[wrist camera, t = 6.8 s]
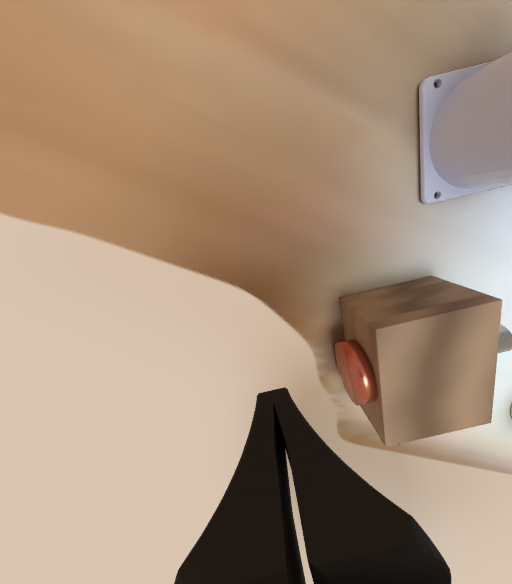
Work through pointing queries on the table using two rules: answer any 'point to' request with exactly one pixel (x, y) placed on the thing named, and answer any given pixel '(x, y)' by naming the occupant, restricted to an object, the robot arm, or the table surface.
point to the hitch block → (426, 356)
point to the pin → (361, 375)
